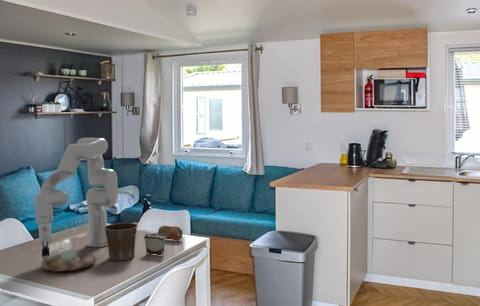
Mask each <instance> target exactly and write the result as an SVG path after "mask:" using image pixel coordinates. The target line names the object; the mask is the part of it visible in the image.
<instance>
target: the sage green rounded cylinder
mask: <svg viewBox="0 0 480 306" xmlns="http://www.w3.org/2000/svg"><path fill="white" fill-rule="evenodd" d="M76 252H77V250H75V249H68V250H63V251H60V253H59V254H60V256H61V262H62V263H70V262H74V261H76V260H77V259H76Z"/></svg>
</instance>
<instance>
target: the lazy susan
mask: <svg viewBox="0 0 480 306" xmlns="http://www.w3.org/2000/svg"><path fill="white" fill-rule="evenodd" d="M76 259H77V260H76V261H74V262H70V263H62V262H61V256H60V253H59V254H56V255H51V256H50V255H49V256H48V255H46V256H43V258H42V261H41V268H42V269H43V270H45V271H49V272H59V271H66V272H71V271H70V270H74V271H77V269H78V270H81V269H85V268H87V267H90V266H92V265H93V264H94V263H95V262H96V256H95V254H92V253H89V252H77V251H76Z"/></svg>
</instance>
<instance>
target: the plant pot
mask: <svg viewBox="0 0 480 306" xmlns="http://www.w3.org/2000/svg"><path fill="white" fill-rule="evenodd" d="M137 228H138V224H137V223H133V222H118V223H112V224H107V226H105V227H104V229H105V232H106V236H107V242H108V245H107V247H108V248H107V249H108V257H109V259H110V261H115V262H125V261H129V260H130V259H131V258H132V259H134V257H135V252H136V251H135V248H136V247H135V246H136V234H137Z"/></svg>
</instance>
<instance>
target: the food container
mask: <svg viewBox="0 0 480 306" xmlns="http://www.w3.org/2000/svg"><path fill="white" fill-rule="evenodd" d="M143 240H144V241H145V250H146V254H147V253H149V254H157V255H163V254H164V255H165V240H166V237H165V235H164V234H159V233H158V232H157V233H146V234H144V236H143ZM164 255H163V256H164Z"/></svg>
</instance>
